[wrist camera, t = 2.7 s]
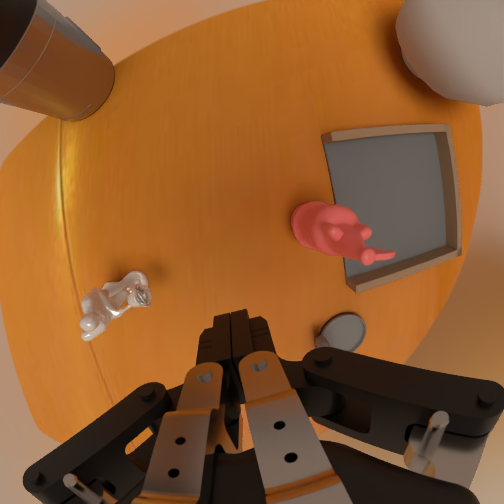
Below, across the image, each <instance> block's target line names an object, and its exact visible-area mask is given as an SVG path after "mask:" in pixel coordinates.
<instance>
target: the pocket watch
mask: <svg viewBox="0 0 504 504" xmlns="http://www.w3.org/2000/svg"><path fill="white" fill-rule="evenodd" d="M365 335H366V325H365V323H364V321H363V320H362V319H361V318H360V317H359V316H357V315H355V314H348V313H347V314H342V315H339V316H337V317H335V318H333V319H332V320H330V321H329V322H328V323H327V324H326V326H325V327H324V328H323V330H322V332H321V335H320V336H318V337H316V338H315V345H316V348H320V347H334V348H338V349H341V350H345V351H349V352H354V351H355V350H356V349H357V348H358V347H359V346H360V345H361V344H362V342H363V341H364V338H365Z"/></svg>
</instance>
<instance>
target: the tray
mask: <svg viewBox="0 0 504 504" xmlns="http://www.w3.org/2000/svg"><path fill="white" fill-rule="evenodd" d="M321 138H322V142H323V146H324V151H325V155H326V160H327V165H328V169H329V174H330V179H331V184H332V190H333V195H334V201H335V204H339V205H344V206H346V207H348V208H350V209H351V210H353V211H354V212H355V214H356V215H357V217H358V220H359V223H360V224H361V223H363V224H365V225H367V226H368V227H369V228H370V229H371V230H372V235H371V237H370V238H368V239H367V240H365V244H366V246H369V247H374V248H378V249H384V250H393V251H396V252H395V257H393V258H392V259H388V260H377V261H374V262H373V263H372V264H371V265H367V266H366V265H363V264H362V263H360V261H359V260H353V259H348V258H345V257H343V259H344V267H345V275H346V284H347V285H348V286H349V287H350V288H351V289H352V290H353V291H354V292H355V293H360V292H363V291H366V290H369V289H372V288H375V287H378V286H381V285H384V284H386V283H389V282H392V281H395V280H398V279H401V278H403V277H406V276H409V275H412V274H414V273H417V272H420V271H422V270H425V269H428V268H430V267H433V266H435V265H438V264H440V263H443V262H445V261H448V260H450V259H453V258H455V257H458V256H460V255H462V222H461V202H460V190H459V180H458V172H457V164H456V157H455V151H454V145H453V140H452V134H451V129H450V125H449V124H418V125H397V126H383V127H371V128H360V129H351V130H342V131H334V132H329V133H327V134H324V135H322V136H321Z"/></svg>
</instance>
